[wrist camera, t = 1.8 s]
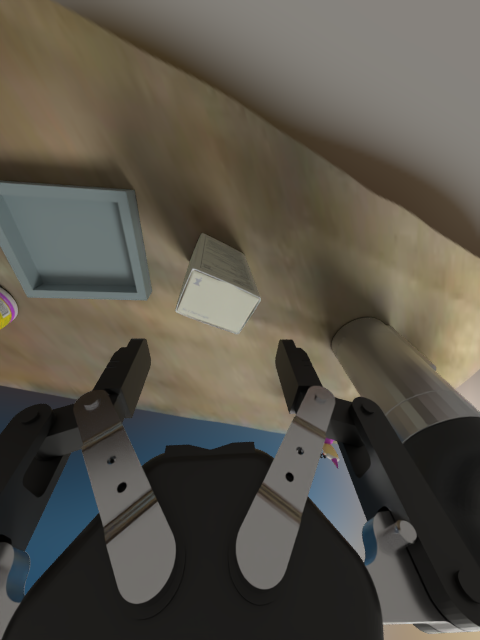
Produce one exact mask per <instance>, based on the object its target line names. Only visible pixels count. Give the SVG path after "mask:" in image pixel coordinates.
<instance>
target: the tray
mask: <svg viewBox="0 0 480 640" xmlns="http://www.w3.org/2000/svg"><path fill="white" fill-rule="evenodd" d="M0 246H1V248H2V250H3V252H4V254H5V256H6V258H7V259H8V261H9V263H10V265H11V267H12V269H13V271H14V273H15V274H16V276H17V278H18V280H19V282H20V284H21V286H22V288H23V289H24V291H25V293H26V295H27V297H35V298H76V299H117V300H147V299H148V298H149V296H150V294H151V293H152V288H151V282H150V276H149V270H148V265H147V259H146V253H145V247H144V242H143V236H142V230H141V224H140V218H139V213H138V207H137V201H136V195H135V190H128V189H114V188H100V187H86V186H72V185H58V184H44V183H29V182H15V181H1V180H0Z"/></svg>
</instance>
